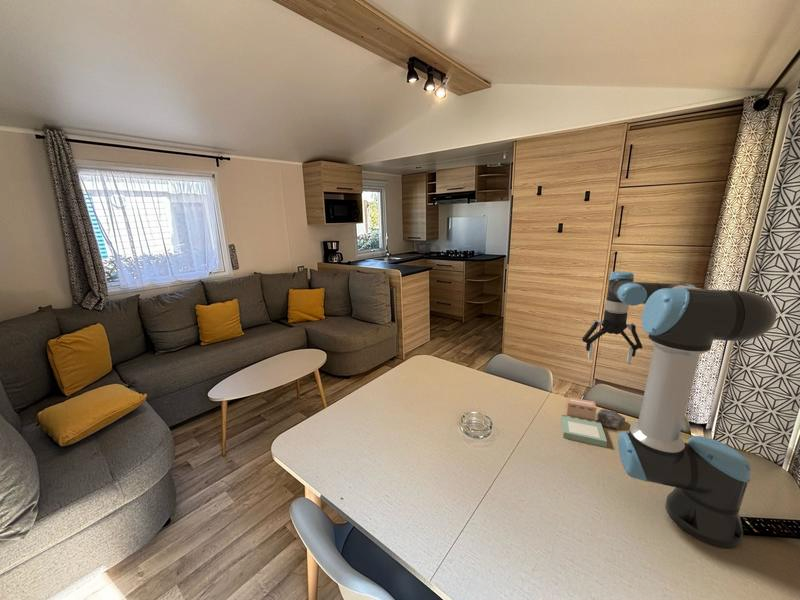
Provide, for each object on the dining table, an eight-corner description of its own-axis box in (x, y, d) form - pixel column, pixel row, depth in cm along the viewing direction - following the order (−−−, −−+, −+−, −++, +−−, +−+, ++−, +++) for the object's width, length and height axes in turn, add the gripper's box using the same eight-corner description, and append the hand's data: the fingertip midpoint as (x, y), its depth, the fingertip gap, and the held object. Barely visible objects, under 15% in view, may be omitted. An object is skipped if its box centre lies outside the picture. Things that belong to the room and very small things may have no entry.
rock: (625, 422, 128) (627, 413, 127) (614, 432, 122) (616, 423, 121) (602, 412, 135) (603, 404, 134) (590, 421, 129) (591, 413, 128)
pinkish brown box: (593, 425, 125) (596, 408, 123) (566, 420, 129) (568, 402, 127) (591, 418, 130) (594, 401, 128) (565, 413, 134) (567, 396, 132)
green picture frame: (606, 447, 114) (607, 441, 113) (563, 437, 119) (563, 431, 118) (599, 427, 124) (600, 422, 124) (560, 419, 130) (561, 414, 129)
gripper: (652, 311, 121) (642, 361, 126) (578, 305, 130) (573, 352, 136) (658, 316, 114) (648, 369, 119) (580, 310, 124) (574, 359, 129)
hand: (608, 360), depth 127 cm, fingers open, 13 cm apart
